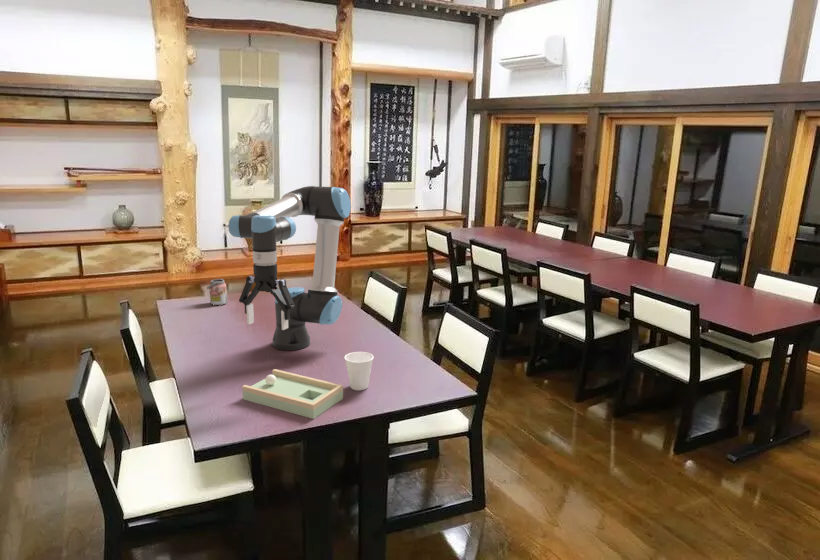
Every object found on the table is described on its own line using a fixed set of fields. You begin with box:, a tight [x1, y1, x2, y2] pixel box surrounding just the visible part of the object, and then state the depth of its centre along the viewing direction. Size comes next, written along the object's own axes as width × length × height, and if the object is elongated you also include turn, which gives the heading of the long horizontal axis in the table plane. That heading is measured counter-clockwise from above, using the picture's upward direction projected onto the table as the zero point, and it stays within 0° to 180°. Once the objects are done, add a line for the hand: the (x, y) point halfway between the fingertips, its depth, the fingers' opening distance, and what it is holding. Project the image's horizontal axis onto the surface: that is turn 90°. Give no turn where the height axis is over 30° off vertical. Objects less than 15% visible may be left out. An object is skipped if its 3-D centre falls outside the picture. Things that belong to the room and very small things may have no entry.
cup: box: [343, 351, 375, 391], centre depth 196 cm, size 10×10×11 cm
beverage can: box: [206, 278, 228, 306], centre depth 289 cm, size 9×8×12 cm
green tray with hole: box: [242, 368, 344, 419], centre depth 188 cm, size 28×16×5 cm, turn 63°
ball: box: [264, 373, 276, 385], centre depth 191 cm, size 4×4×4 cm
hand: (267, 326), depth 192 cm, fingers open, 13 cm apart
